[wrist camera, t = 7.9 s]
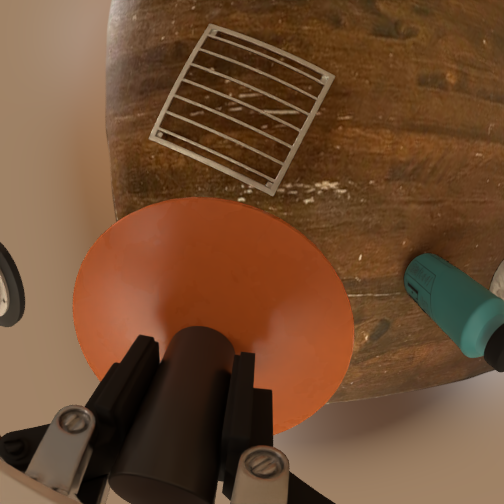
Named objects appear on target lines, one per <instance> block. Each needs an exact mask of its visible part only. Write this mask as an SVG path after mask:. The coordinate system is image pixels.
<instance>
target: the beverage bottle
mask: <svg viewBox="0 0 504 504" xmlns="http://www.w3.org/2000/svg"><path fill="white" fill-rule="evenodd" d="M445 260H446V259H444V260H443V258H442V257H441V258H440V257H439V256H438V254H437V255H436V254H431V253H426V254H421V255H419V256H417V257H416V258H415V259H413V260H412V261H411V263H410V264H409V266H408V267H407V269H406V272H405V276H404V286H405V288H406V291H407V293H408V294H409V296H410V298H412V299H413V301H415V302H416V303H417V304H418V306H419V307H421V309H422V310H423V311H424V312H425V314H426V313H427V314H426V315H429V316H430V317H431V318H432V319H433V320H434V321H435V323H437V324H436V325H438V326H439V327H440V328H441V329H442V330H443V331H444V332H445V333H446V334H447V335H448V336H449V337H450V338H451V339H452V340H453V341H454V342H455V344H456V345H457V346H458V347H459V348H460V349H461V351H462V353H463V354H464V355H466V356H467V357H470V358H476V357H480V356H483V355H484V359H485V361H486V362H487V363H488V364H489V365H491V366H492V367H493V368H494V369H495V370H497V371H498V372H504V300H503V299H501V298H499V297H497V296H496V295H495V294H493V293H492V292H490V291H489V290H488V289H486V288H485V287H483V286H482V285H481V284H479V283H478V282H476V281H475V280H473V279H472V278H471V277H469V276H468V275H467V274H465V273H464V272H462V271H461V270H459V269H458V268H456V266H455V267H454V266H453V265H452V264H450V263H449V262H448V261H445ZM408 294H407V295H408ZM439 327H438V328H439ZM448 336H447V337H448Z"/></svg>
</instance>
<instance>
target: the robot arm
mask: <svg viewBox="0 0 504 504" xmlns="http://www.w3.org/2000/svg"><path fill="white" fill-rule="evenodd" d="M9 301H10V299H9V291H8V286H7V283H6V280H5V278H4V275H3V273H2V271H1V269H0V316H2V315H3V314H5V313H6V312H7V310H8V308H9ZM159 364H160V356H159V343H158V342H156V341H155V339H154V337H150V336H145V335H141V334H140V335H138V336H137V338H136V340H135V341H134V343H133V344H132V346H131V347H130V349H129V350H128V352H127V353H126V355H125V356H124V358H123V359H122V361H121V362H120V363H117V362H115V363H113V365H112V366H111V367H110V369H109V370H108V372H107V373H106V375H105V376H104V378H103V379H102V381H101V382H100V384H99V385H98V387H97V388H96V390H95V391H94V393H93V395H92V396H91V398H90V399H89V401H88V402H87V404H86V406H85V407H83V406H79V405H69V406H66V407H64V408H62V409H60V410H59V412H58V413H57V414H56V415H55V417H54V419H53V420H52V422H51V424H47V425H43V426H38V427H34V428H29V429H24V430H19V431H14V432H10V433H7V434H5V435H4V436H3V437H1V436H0V504H106V501H107V497H108V494H109V490H110V486H109V483H108V476H109V474H110V471H111V469H112V467H113V464H114V462H115V460H116V458H117V455H118V453H119V451H120V448H121V446H122V444H123V442H124V439H125V437H126V435H127V433H128V431H129V428H130V426H131V424H132V422H133V420H134V417H135V415H136V413H137V411H138V409H139V406H140V404H141V402H142V400H143V398H144V396H145V394H146V391H147V389H148V387H149V385H150V383H151V381H152V379H153V377H154V375H155V372H156V370H157V368H158V366H159ZM254 369H255V353H249V352H241V353H240V355H234V360H233V366H232V373H231V379H230V385H229V392H228V398H227V405H226V411H225V417H224V424H223V430H222V438H221V448H220V470H219V476H218V481H223V482H224V483H223V491H222V493H223V494H224V495H225V496H226V497H227V498H228V499H229V500H230V501H231V502H230V504H335V503H334V502H332V501H331V500H329V499H328V498H326V497H324V496H323V495H322V494H320V493H319V492H317V491H316V490H314V489H313V488H312V487H310V486H309V485H307V484H306V483H305V482H303V481H302V480H300V479H299V478H298V477H296V476H295V475H294V474H292V473H291V472H290V471H289V460H288V459H287V457H286V455H285V454H284V453H283V452H281V451H280V450H278V449H276V448H274V447H273V394H272V390H270V389H260V388H253V386H254Z"/></svg>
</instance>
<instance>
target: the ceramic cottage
mask: <svg viewBox="0 0 504 504" xmlns="http://www.w3.org/2000/svg"><path fill="white" fill-rule="evenodd" d="M489 291H490V292H492V293H493V294H495V295H496V296H497V297H499V298H501V299H503V300H504V260H503V261H502V263H501V264H500V266H499V267H498V270H497V271H496V272H495V274H494V277H493V280H492V282H491V287H490V289H489Z"/></svg>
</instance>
